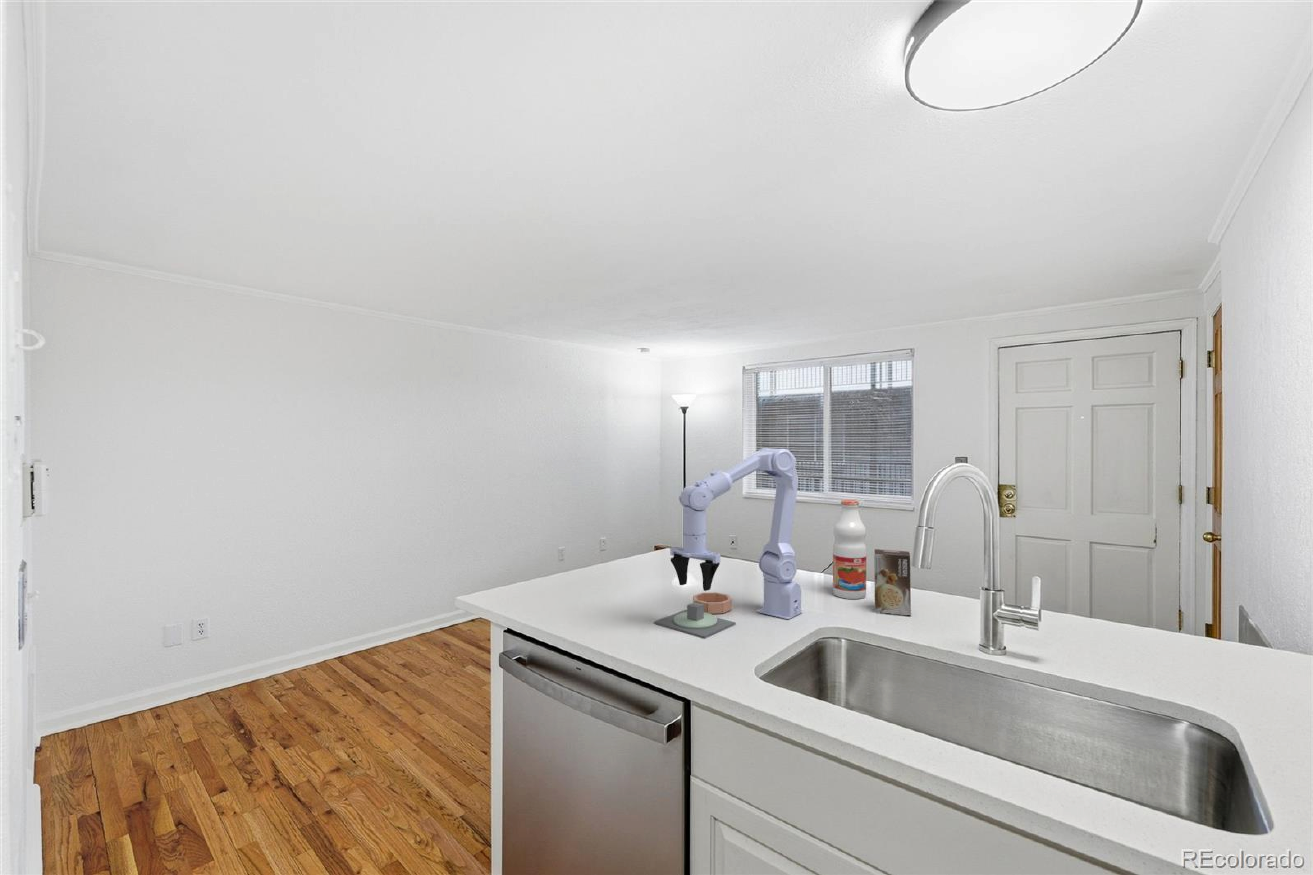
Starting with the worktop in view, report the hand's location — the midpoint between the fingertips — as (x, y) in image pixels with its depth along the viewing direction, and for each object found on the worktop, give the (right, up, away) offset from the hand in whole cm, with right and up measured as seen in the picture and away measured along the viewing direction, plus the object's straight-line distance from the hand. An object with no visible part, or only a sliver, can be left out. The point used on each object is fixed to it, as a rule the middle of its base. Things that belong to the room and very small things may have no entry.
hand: (694, 587), depth 149 cm
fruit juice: (+47, -9, +25) cm, 54 cm away
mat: (0, -9, 0) cm, 9 cm away
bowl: (+6, -9, +13) cm, 17 cm away
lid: (0, -9, 0) cm, 9 cm away
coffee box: (+54, -9, +10) cm, 56 cm away
